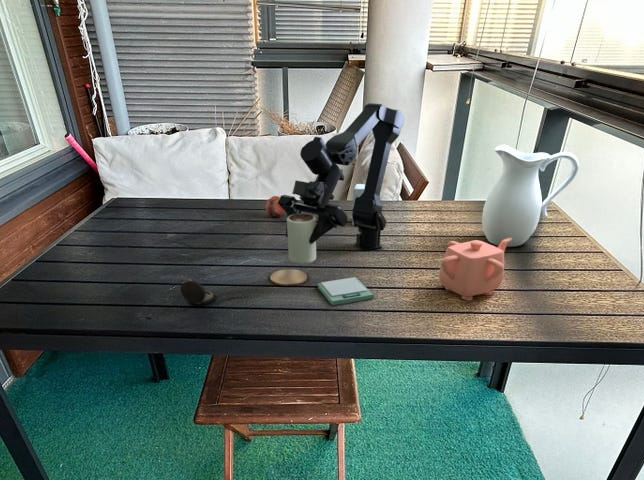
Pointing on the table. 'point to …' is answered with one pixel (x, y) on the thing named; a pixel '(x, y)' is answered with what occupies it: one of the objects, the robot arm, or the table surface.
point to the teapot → (473, 267)
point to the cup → (301, 238)
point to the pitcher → (519, 195)
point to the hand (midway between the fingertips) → (298, 239)
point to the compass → (196, 293)
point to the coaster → (288, 277)
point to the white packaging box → (358, 192)
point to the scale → (344, 291)
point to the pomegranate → (274, 207)
